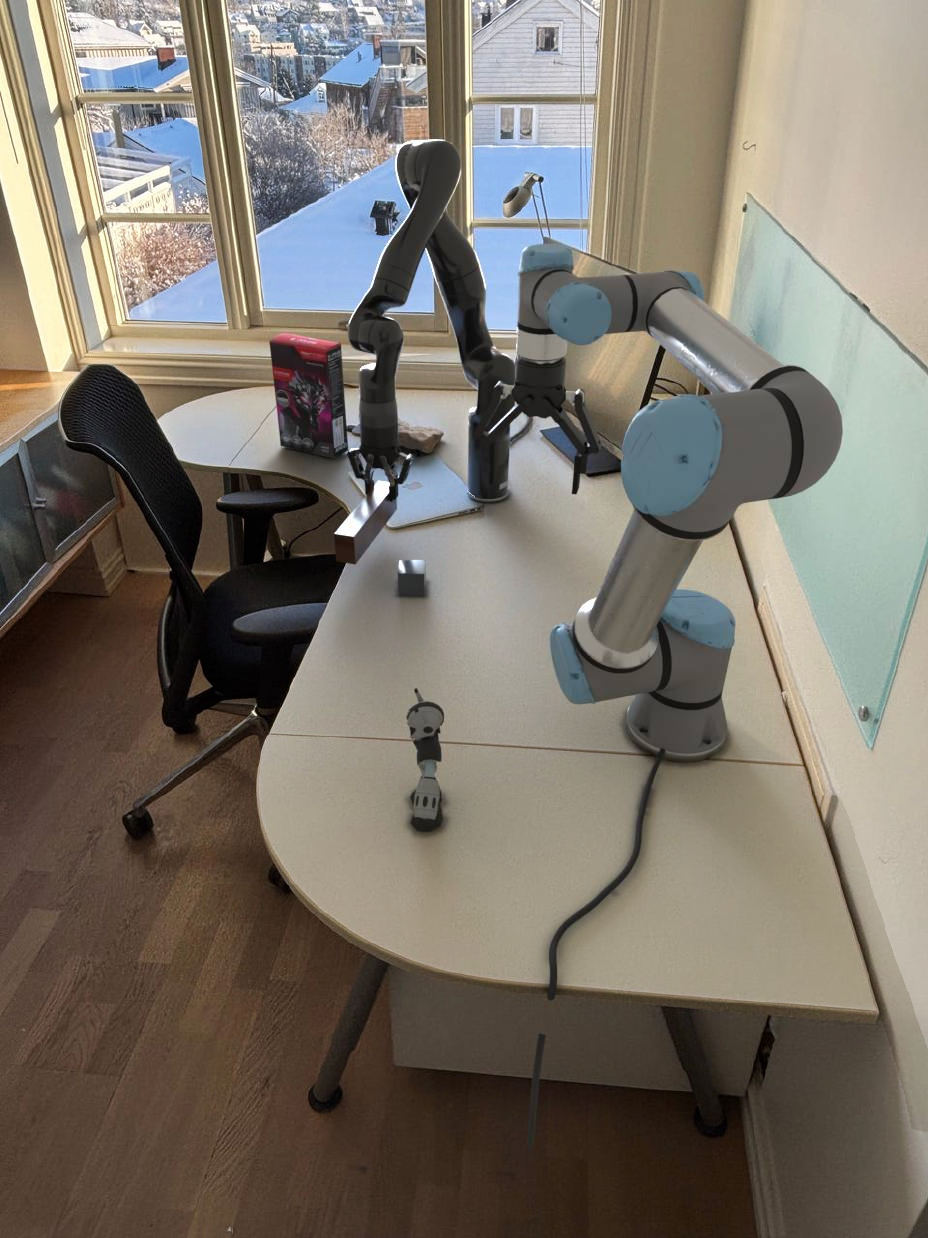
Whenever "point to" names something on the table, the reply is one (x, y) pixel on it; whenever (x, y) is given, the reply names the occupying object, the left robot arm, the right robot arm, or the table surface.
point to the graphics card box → (309, 394)
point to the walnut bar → (364, 524)
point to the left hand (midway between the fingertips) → (381, 498)
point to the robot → (426, 762)
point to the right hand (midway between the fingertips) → (533, 485)
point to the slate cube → (411, 577)
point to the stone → (418, 436)
